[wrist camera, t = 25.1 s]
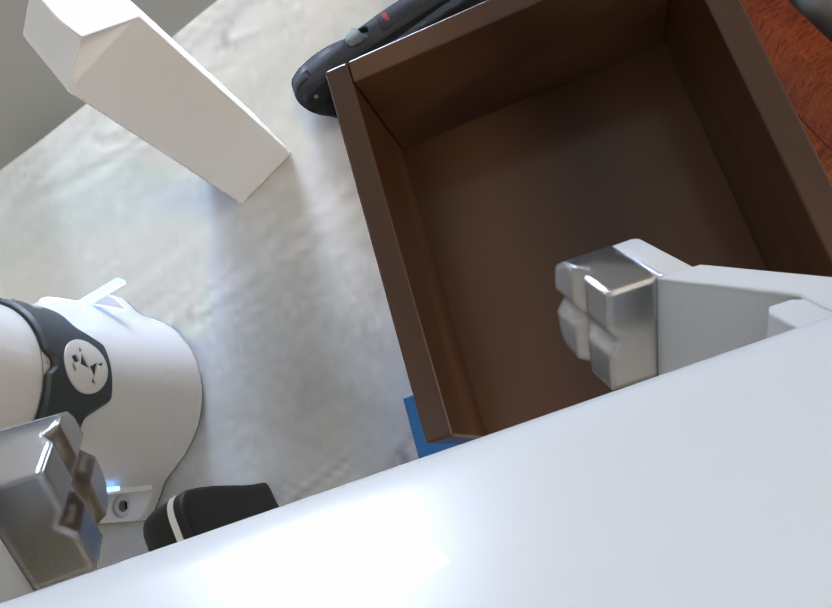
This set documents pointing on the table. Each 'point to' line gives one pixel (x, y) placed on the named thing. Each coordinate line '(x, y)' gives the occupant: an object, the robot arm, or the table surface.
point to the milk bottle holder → (801, 61)
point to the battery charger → (204, 512)
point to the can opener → (367, 46)
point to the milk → (153, 90)
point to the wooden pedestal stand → (563, 180)
